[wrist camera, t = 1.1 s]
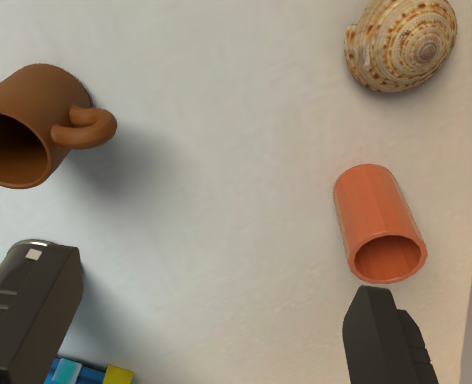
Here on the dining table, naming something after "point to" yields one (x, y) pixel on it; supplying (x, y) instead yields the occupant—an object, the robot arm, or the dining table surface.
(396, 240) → the cup
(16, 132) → the mug
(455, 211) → the dining table surface
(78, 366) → the decorative book
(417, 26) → the seashell
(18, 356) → the robot arm
